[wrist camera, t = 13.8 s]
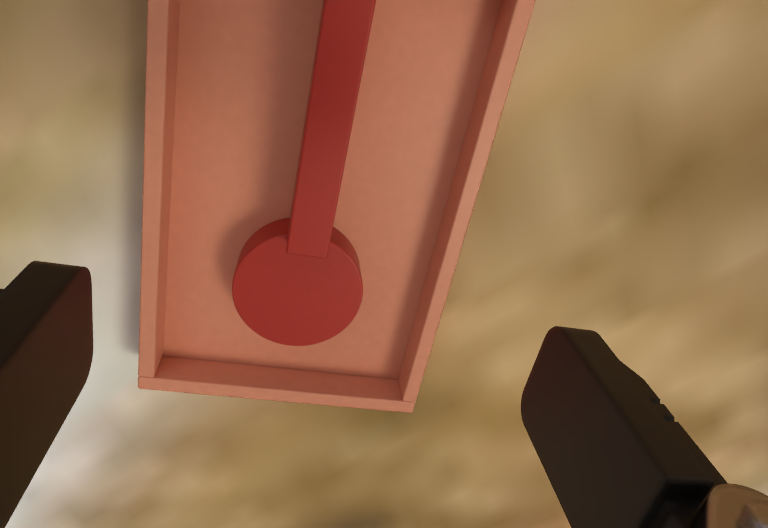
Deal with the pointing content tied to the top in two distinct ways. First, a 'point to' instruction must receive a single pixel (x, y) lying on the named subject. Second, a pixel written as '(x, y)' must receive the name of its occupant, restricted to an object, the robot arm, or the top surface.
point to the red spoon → (312, 204)
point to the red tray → (277, 181)
